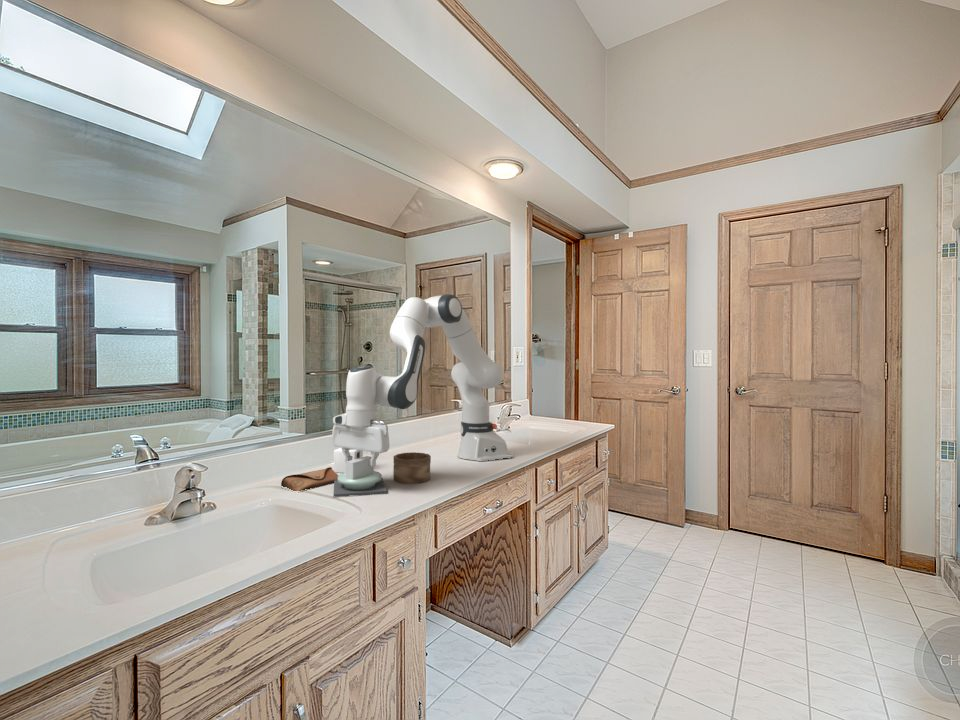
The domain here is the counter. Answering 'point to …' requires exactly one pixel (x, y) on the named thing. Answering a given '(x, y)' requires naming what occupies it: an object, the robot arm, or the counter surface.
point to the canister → (411, 468)
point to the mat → (342, 491)
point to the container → (340, 459)
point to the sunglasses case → (310, 479)
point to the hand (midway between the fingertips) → (360, 464)
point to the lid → (359, 475)
